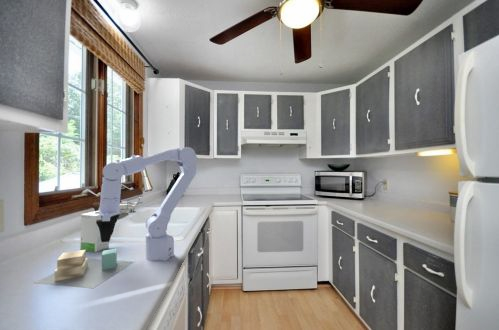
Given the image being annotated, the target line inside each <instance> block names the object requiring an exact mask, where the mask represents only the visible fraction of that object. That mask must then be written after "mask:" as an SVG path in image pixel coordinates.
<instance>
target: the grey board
mask: <svg viewBox="0 0 499 330" xmlns="http://www.w3.org/2000/svg"><path fill="white" fill-rule="evenodd" d="M133 263H135V261H130V260H129V261H127V260H117V265H116V268H111V269H106V270H102V258H101V259H100V258H99V259H97V258H88V267H87V270H86V272H85V274H84V276H79V277H74V278H69V279H64V280H59V281H55V272H54V273H51V274H49V275H48V276H46V277H43V278H40V279H39V280H37V281H34V282H33V283H34V284H43V285H51V286H52V285H53V286H62V287H63V286H64V287H74V288H86V289H95V288H96V287H99V285H101V284H103V283H104V282H106V281H108V280H109V279H110V278H112V277H113V276H115V275H117V274H119V273H120V272H121V271H123V270H124V269H126V268H127V267H129V266H131V265H132V264H133Z"/></svg>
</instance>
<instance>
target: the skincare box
mask: <svg viewBox="0 0 499 330" xmlns="http://www.w3.org/2000/svg"><path fill="white" fill-rule="evenodd" d="M97 220H102V218H101V215H100V214H95V210H94V211H89V212H85V213H81V214H80V239H79V240H80V241H79V243H80V244H79V245H80V247H79V251H80V250H86V252H92V253H94V252H95V253H97V252H99V251H102V250H105V249H106V250H107V249H109V245H110V241H109V242H101V237H100V230H99V227H98V225H97V224H96V221H97Z"/></svg>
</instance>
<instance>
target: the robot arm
mask: <svg viewBox="0 0 499 330" xmlns="http://www.w3.org/2000/svg"><path fill="white" fill-rule="evenodd" d="M167 160H168V161H171V162H172V161H173V162H176V163H177V164H178V166H179V170H180V175H179V176H178V178H177V180H176V181H175V182H174V184H173V185H172V187H171V189H170V191H169V192H168V194H167V195H166V197H165V198H164V200H163V201H162V203H161V205H160V206H159V208H157V209H156V210H155V211H154V213H153V214H152V215H150V216H149V217H148V218H147V219H146V220H145V227H146V229H147V230H148V231H147V233H146V234H145V259H146V260H147V261H167V260H169V258H171V257H172V258H173V257H175V256H176V254H175V241H174V240H175V239H174V237H173V235H170V234H167V230H168V225H169V222H170V220H171V217H172V213H174V210H175V209H176V207H177V206H178V205H179V202H180V200H181V199H182V198H183V196H184V194H185V192H186V191H187V189H188V188H189V186H190V185H191V183H192V181H193V180H194V178H195V176H196V175H197V172H196V171H197V160H198V157H197V154H196V151H195V149H193V148H192V147H191V146H185V147H183V148H182V147H179V148H173V149H172V148H170V149H167V150H164V151H160V152H158V153H155V154H152V155H149V156H145V157H143V156H142V155H136V154H133V155H131V156H130V157H128V158H125V159H121V160H120V159H117V160H116V161H115V162H110V163H107V164H106V165H105V166H104V167H103V168H102V175H103V177H102V181H101V182H102V184H101V188H100V190H101V191H100V200H99V203H100V207H99V209H98V211H95V210H94V211H95V214H100V215H101V218H102V220H97V221H96V224H97V225H98V227H99V230H100V237H101V242H109V243H110V240H111V237H112V235H113V234H114V231H115V227H116V223H117V221H118V219H119V217H120V215H121V214H120V213H121V212H120V206H121V205H120V204H121V194H122V193H121V192H122V184H121V181H122V176H126V177H127V176H130V175H133V174H137V173H140V172H143V171H145V170H146V167H147V166H151V165H154V164H158V163H161V162H164V161H167Z"/></svg>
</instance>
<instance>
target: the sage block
mask: <svg viewBox="0 0 499 330" xmlns="http://www.w3.org/2000/svg"><path fill="white" fill-rule="evenodd" d="M117 251H118V249H117V248H112V249H106V250H105V249H104V250H103V251H102V253H101V260H102V270H106V269H111V268H116V265H117V261H118V256H117V254H118V252H117Z"/></svg>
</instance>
